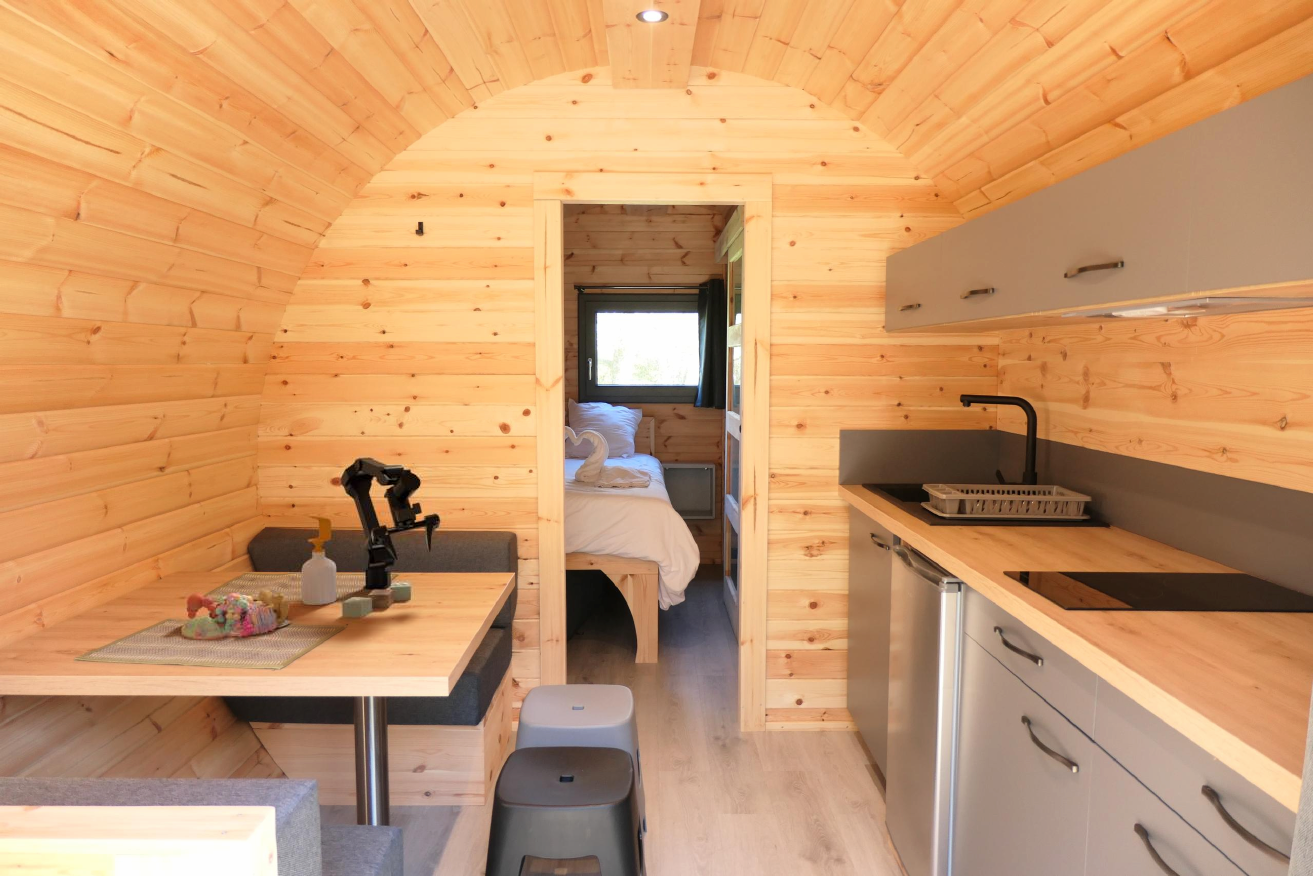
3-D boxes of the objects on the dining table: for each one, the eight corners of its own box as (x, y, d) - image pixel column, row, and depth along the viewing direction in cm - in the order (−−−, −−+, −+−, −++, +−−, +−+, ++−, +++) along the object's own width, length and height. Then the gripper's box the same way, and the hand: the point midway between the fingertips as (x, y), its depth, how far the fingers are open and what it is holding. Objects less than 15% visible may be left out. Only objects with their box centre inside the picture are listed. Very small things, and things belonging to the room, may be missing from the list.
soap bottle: (295, 603, 235) (293, 516, 233) (319, 595, 244) (317, 512, 242) (319, 607, 232) (318, 519, 230) (343, 599, 240) (342, 514, 239)
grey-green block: (342, 617, 223) (342, 601, 223) (353, 611, 229) (353, 596, 228) (361, 618, 222) (361, 602, 222) (372, 612, 228) (371, 597, 227)
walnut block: (368, 609, 231) (368, 594, 231) (373, 603, 236) (373, 589, 236) (388, 609, 231) (388, 594, 231) (393, 603, 237) (393, 589, 236)
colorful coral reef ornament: (271, 608, 231) (270, 575, 231) (305, 627, 215) (304, 591, 214) (169, 627, 214) (168, 591, 213) (198, 648, 197) (197, 610, 196)
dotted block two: (390, 601, 239) (390, 586, 239) (391, 596, 245) (391, 582, 244) (410, 600, 241) (410, 585, 240) (411, 595, 246) (411, 581, 246)
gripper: (367, 502, 230) (380, 555, 225) (434, 487, 238) (449, 538, 233) (366, 516, 240) (379, 567, 235) (431, 502, 248) (445, 551, 243)
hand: (413, 555), depth 236 cm, fingers open, 9 cm apart
